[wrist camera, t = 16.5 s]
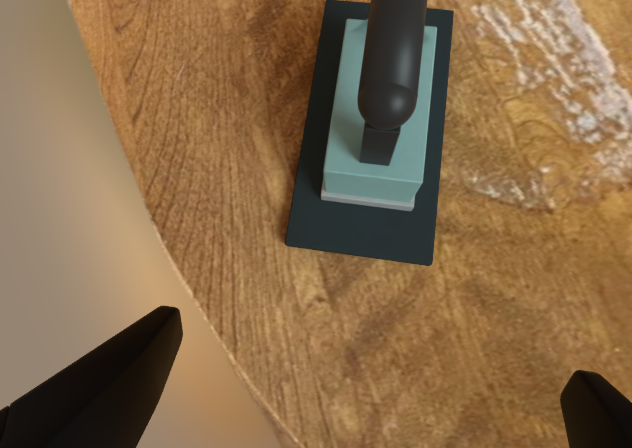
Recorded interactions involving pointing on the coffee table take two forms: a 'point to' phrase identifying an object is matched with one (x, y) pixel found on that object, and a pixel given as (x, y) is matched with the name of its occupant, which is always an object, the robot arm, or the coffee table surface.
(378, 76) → the pale blue handled block
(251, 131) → the coffee table surface
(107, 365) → the robot arm
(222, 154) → the coffee table surface
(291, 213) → the iron pad
